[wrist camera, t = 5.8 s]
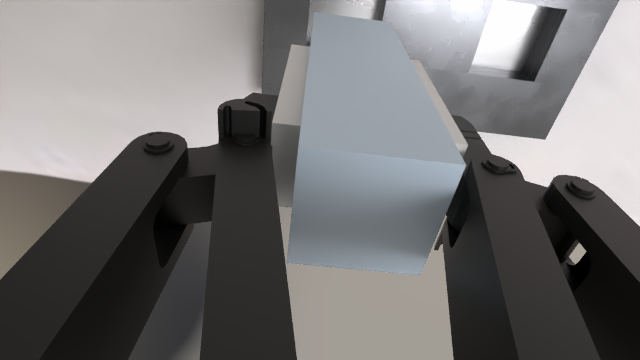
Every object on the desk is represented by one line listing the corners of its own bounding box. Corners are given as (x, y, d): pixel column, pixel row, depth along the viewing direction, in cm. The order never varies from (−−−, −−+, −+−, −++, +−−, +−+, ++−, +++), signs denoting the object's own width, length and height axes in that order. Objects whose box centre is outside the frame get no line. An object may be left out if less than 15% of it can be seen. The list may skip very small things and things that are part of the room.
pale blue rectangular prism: (314, 12, 18) (298, 146, 8) (390, 22, 18) (466, 165, 8) (305, 98, 20) (285, 280, 10) (372, 106, 20) (413, 291, 11)
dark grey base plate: (275, -119, 24) (268, -122, 22) (621, -67, 25) (653, -64, 23) (266, 90, 32) (261, 105, 30) (529, 122, 33) (545, 139, 31)
